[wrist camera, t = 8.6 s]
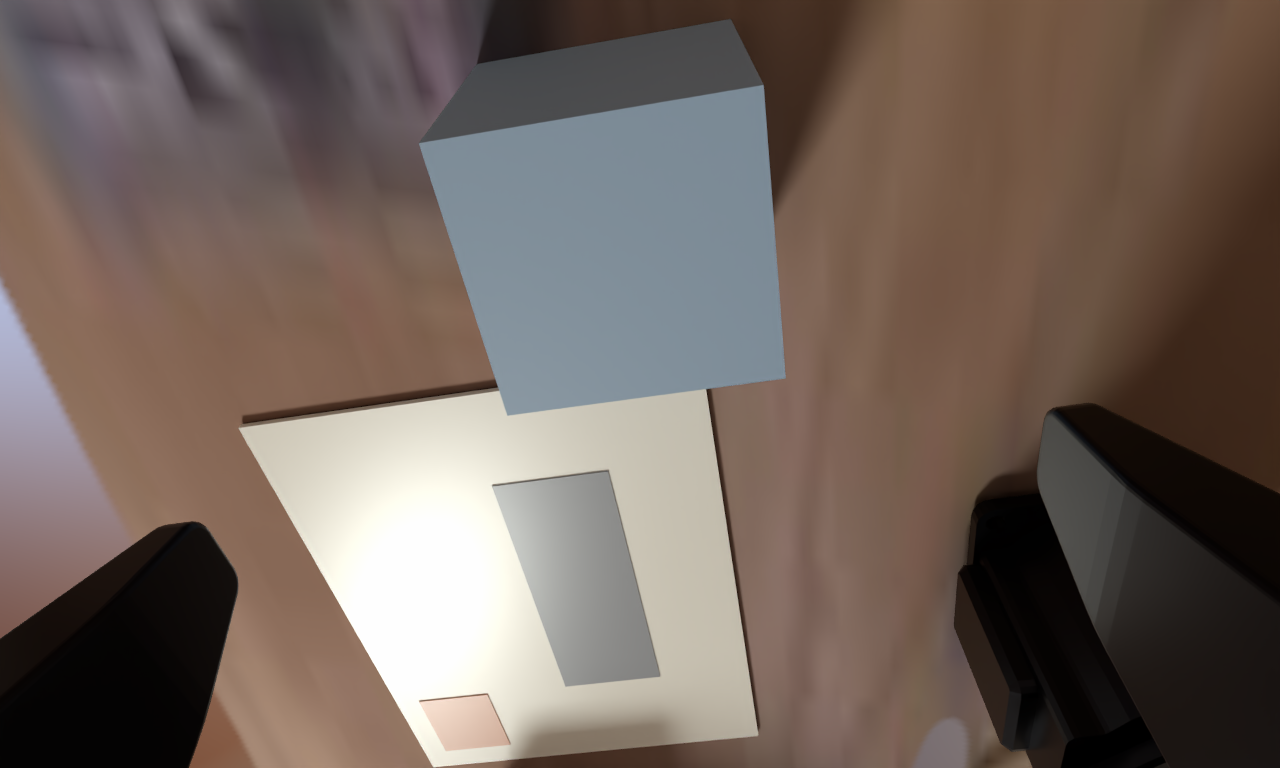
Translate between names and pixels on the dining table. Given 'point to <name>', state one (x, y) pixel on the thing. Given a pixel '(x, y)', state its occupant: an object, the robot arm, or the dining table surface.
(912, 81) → the dining table surface
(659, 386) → the blue cube
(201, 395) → the dining table surface
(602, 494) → the letter
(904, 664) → the dining table surface
